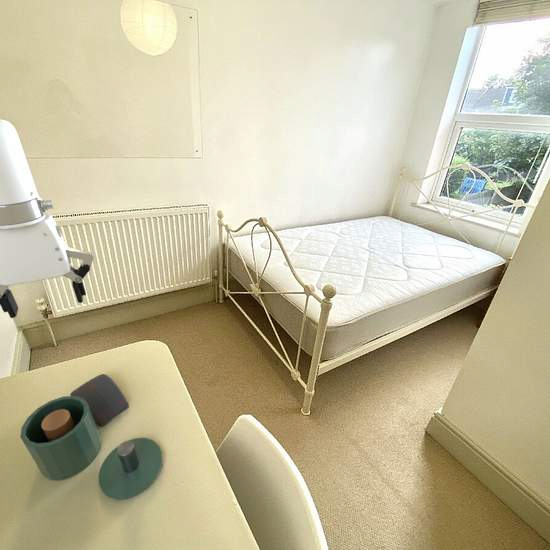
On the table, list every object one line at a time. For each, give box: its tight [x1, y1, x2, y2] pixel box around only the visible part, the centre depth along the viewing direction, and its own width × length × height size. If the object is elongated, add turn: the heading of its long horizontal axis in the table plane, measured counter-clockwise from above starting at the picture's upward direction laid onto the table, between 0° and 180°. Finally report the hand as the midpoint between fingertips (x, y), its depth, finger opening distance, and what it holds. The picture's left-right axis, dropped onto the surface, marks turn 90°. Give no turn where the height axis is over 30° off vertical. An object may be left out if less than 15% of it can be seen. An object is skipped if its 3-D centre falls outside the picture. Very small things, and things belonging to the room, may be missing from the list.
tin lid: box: [98, 437, 163, 501], centre depth 58 cm, size 11×11×7 cm
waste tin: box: [20, 395, 102, 481], centre depth 59 cm, size 10×10×10 cm
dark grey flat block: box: [69, 373, 130, 427], centre depth 71 cm, size 8×14×4 cm, turn 55°
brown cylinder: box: [41, 409, 75, 442], centre depth 59 cm, size 4×4×10 cm
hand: (49, 305), depth 54 cm, fingers open, 9 cm apart
